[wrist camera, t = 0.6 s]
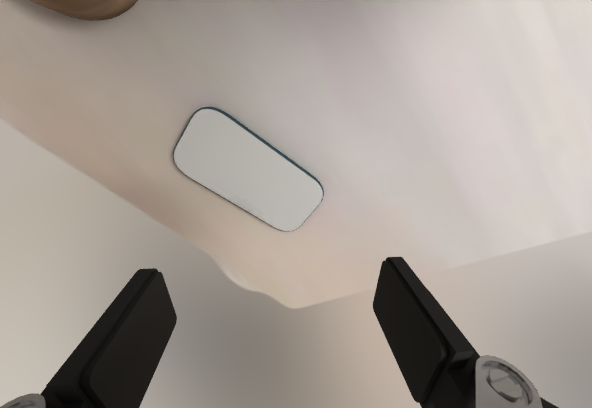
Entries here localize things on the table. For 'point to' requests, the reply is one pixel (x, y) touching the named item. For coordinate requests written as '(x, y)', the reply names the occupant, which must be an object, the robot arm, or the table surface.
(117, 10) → the walnut stand
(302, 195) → the external hard drive
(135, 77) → the table surface
